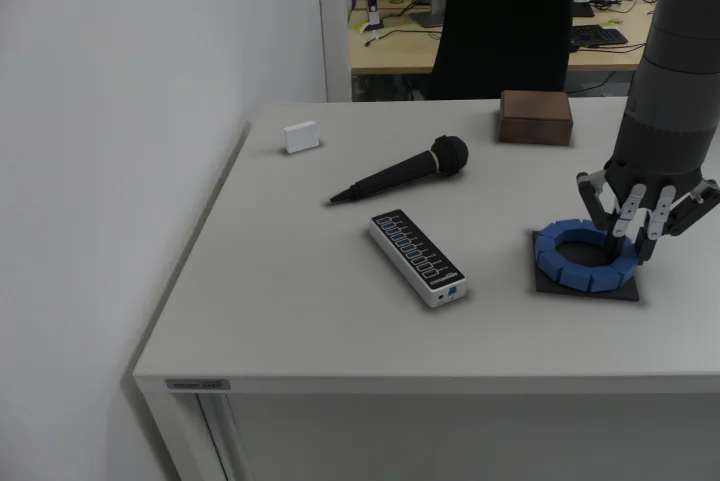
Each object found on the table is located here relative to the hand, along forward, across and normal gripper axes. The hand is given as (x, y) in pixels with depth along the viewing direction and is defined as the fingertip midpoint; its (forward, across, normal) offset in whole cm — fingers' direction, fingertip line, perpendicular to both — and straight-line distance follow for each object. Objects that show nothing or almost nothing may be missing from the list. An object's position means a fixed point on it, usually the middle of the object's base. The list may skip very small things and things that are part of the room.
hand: (624, 259), depth 60 cm
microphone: (+1, +26, -14) cm, 30 cm away
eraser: (+1, +42, -22) cm, 48 cm away
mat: (+1, +4, 0) cm, 4 cm away
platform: (+1, +8, -32) cm, 33 cm away
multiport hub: (+1, +22, +2) cm, 22 cm away
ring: (+1, +4, 0) cm, 4 cm away
